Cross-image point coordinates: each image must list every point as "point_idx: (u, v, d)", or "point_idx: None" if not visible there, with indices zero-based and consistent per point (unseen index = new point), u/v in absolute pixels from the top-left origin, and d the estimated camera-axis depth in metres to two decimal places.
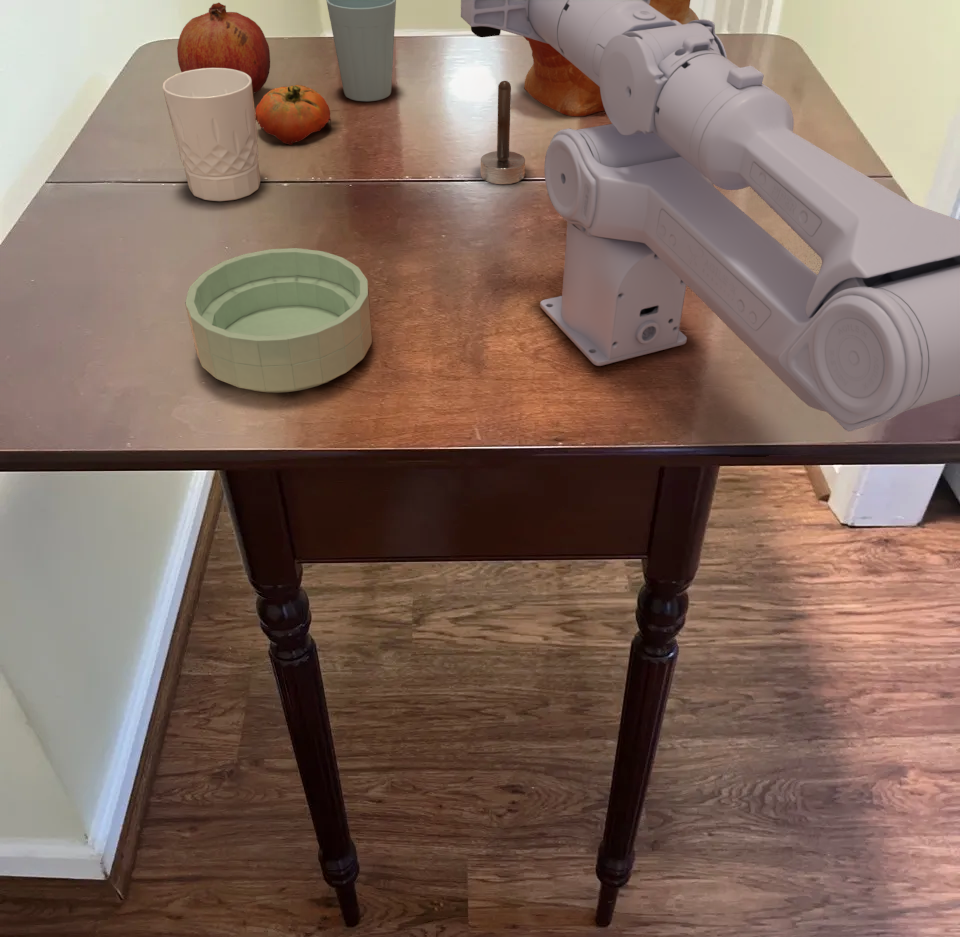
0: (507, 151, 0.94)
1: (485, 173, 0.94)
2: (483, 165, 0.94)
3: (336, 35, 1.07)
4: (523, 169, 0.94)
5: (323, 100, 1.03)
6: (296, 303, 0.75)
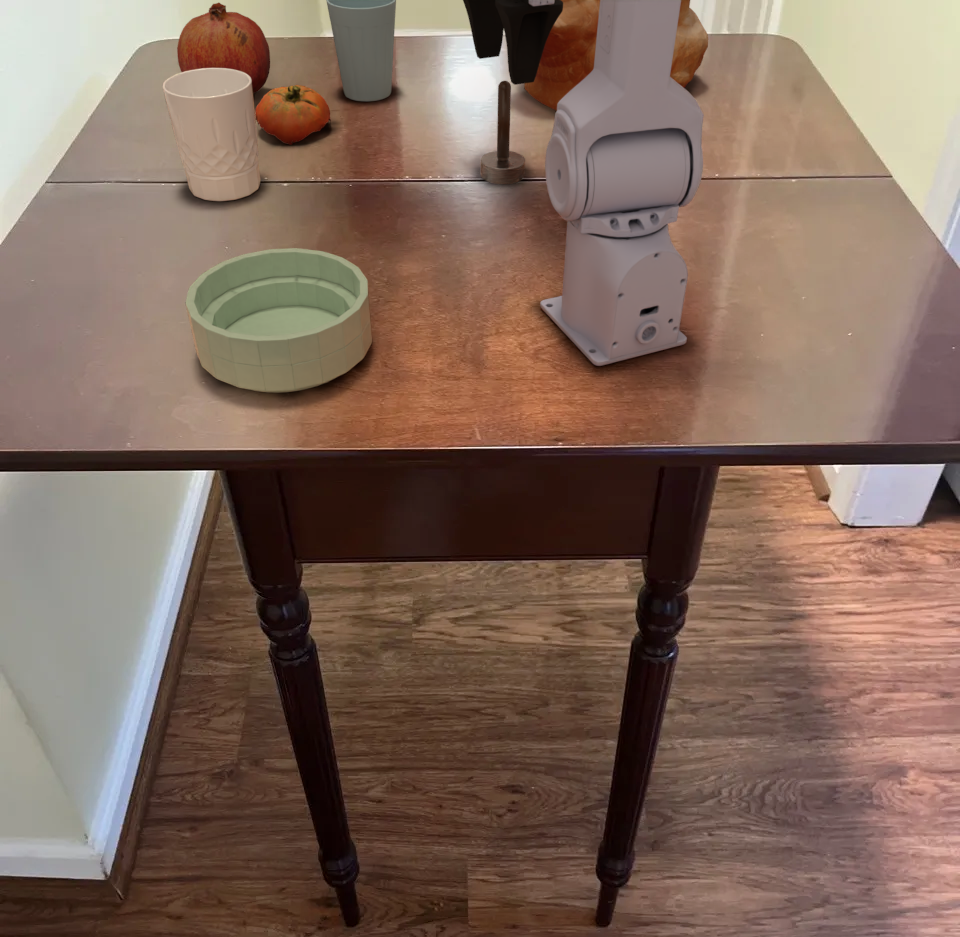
0: (507, 151, 0.94)
1: (485, 173, 0.94)
2: (483, 165, 0.94)
3: (336, 35, 1.07)
4: (523, 169, 0.94)
5: (323, 100, 1.03)
6: (296, 303, 0.75)
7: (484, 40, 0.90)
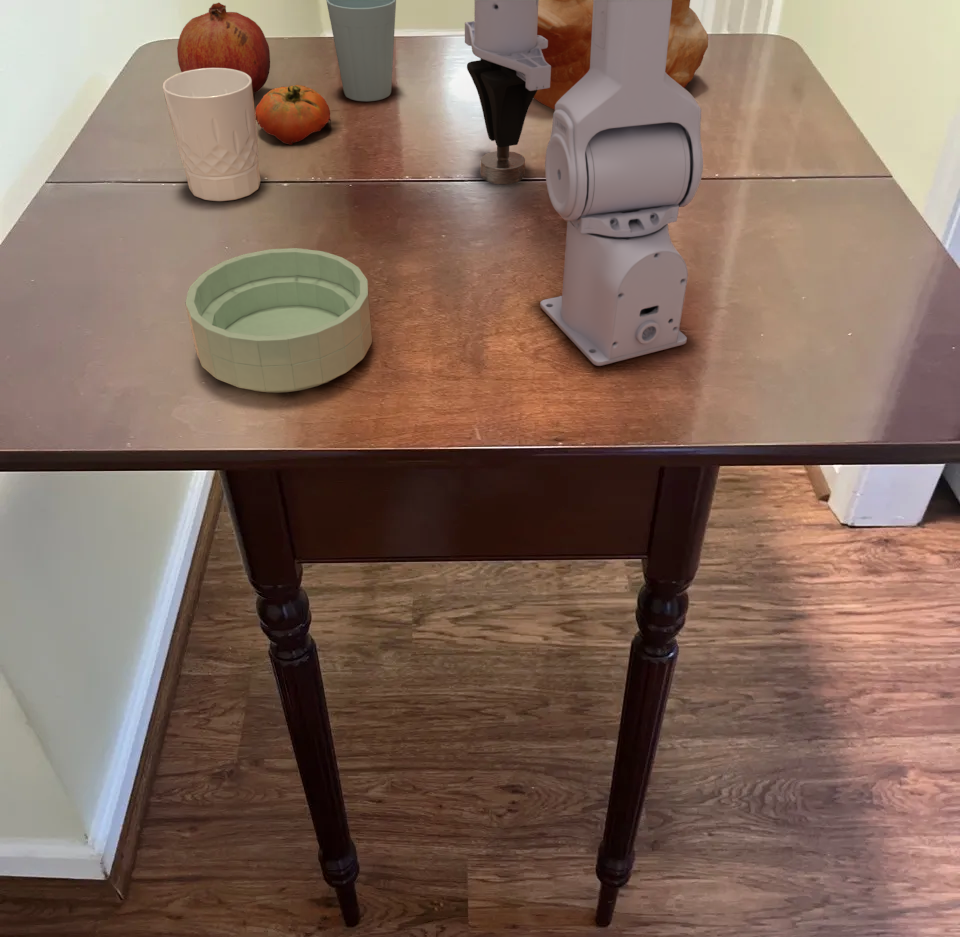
0: (507, 151, 0.94)
1: (485, 173, 0.94)
2: (483, 165, 0.94)
3: (336, 35, 1.07)
4: (523, 169, 0.94)
5: (323, 100, 1.03)
6: (296, 303, 0.75)
7: None
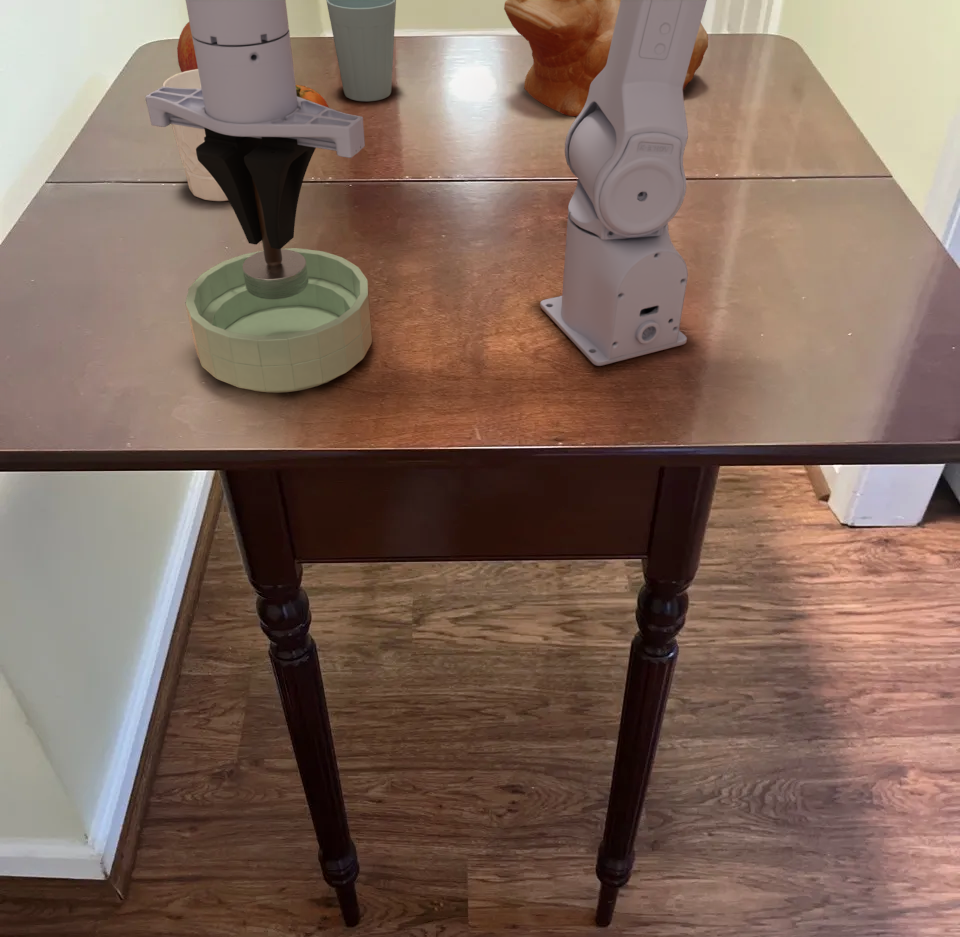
0: (280, 250, 0.67)
1: (267, 290, 0.66)
2: (261, 280, 0.66)
3: (336, 35, 1.07)
4: None
5: (323, 100, 1.03)
6: (296, 303, 0.75)
7: (256, 220, 0.65)
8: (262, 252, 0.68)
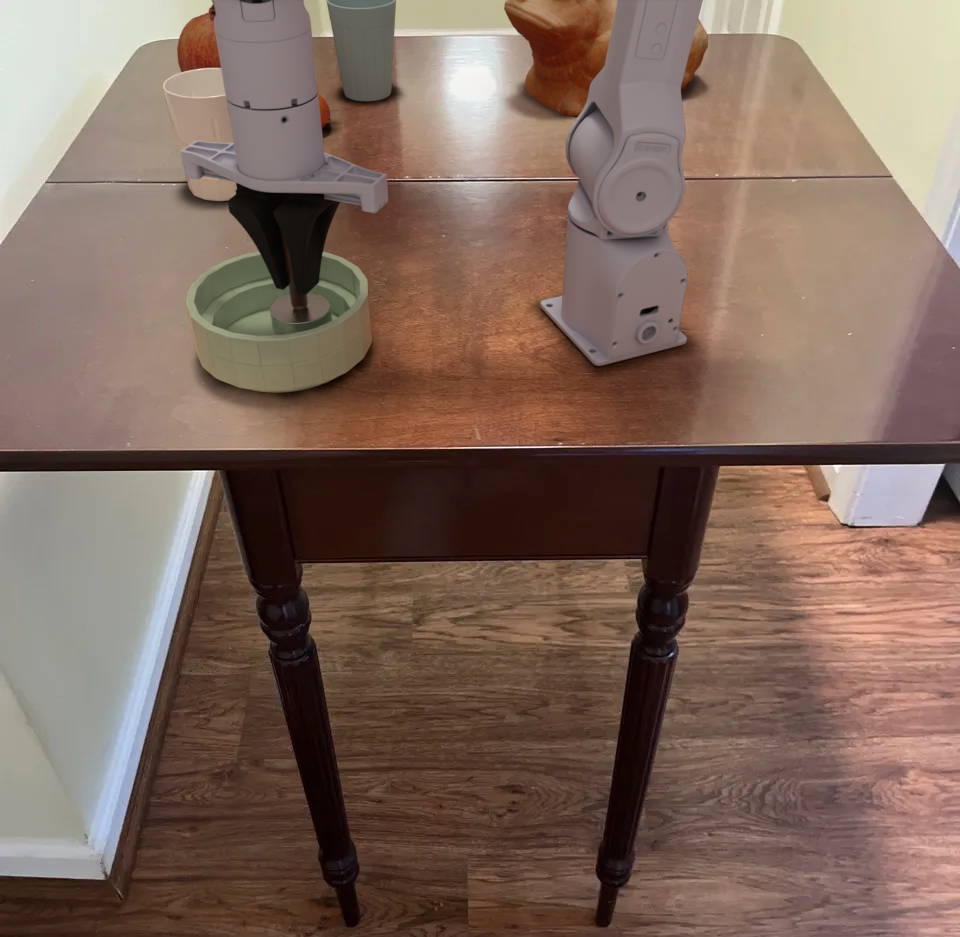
0: (306, 295, 0.70)
1: None
2: (287, 324, 0.69)
3: (336, 35, 1.07)
4: None
5: (323, 100, 1.03)
6: None
7: (283, 266, 0.68)
8: (288, 295, 0.71)
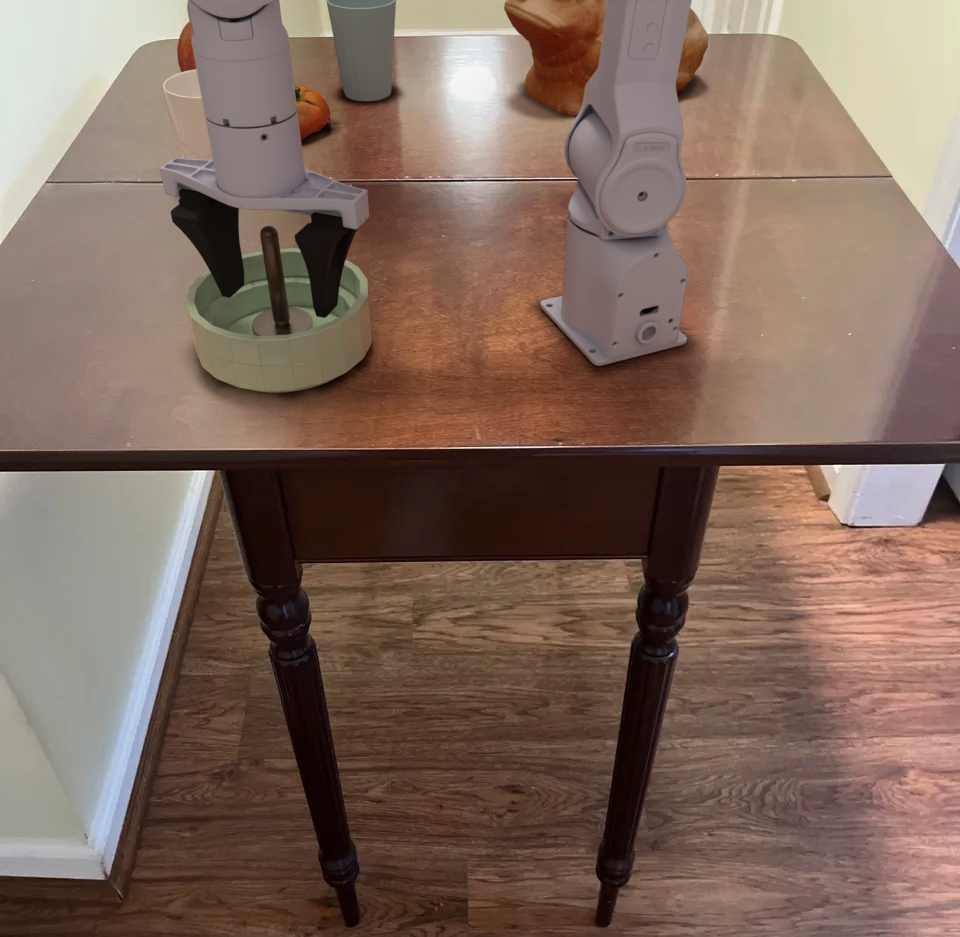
0: (288, 310, 0.70)
1: None
2: None
3: (336, 35, 1.07)
4: None
5: (323, 100, 1.03)
6: (296, 303, 0.75)
7: (229, 275, 0.69)
8: (270, 310, 0.71)
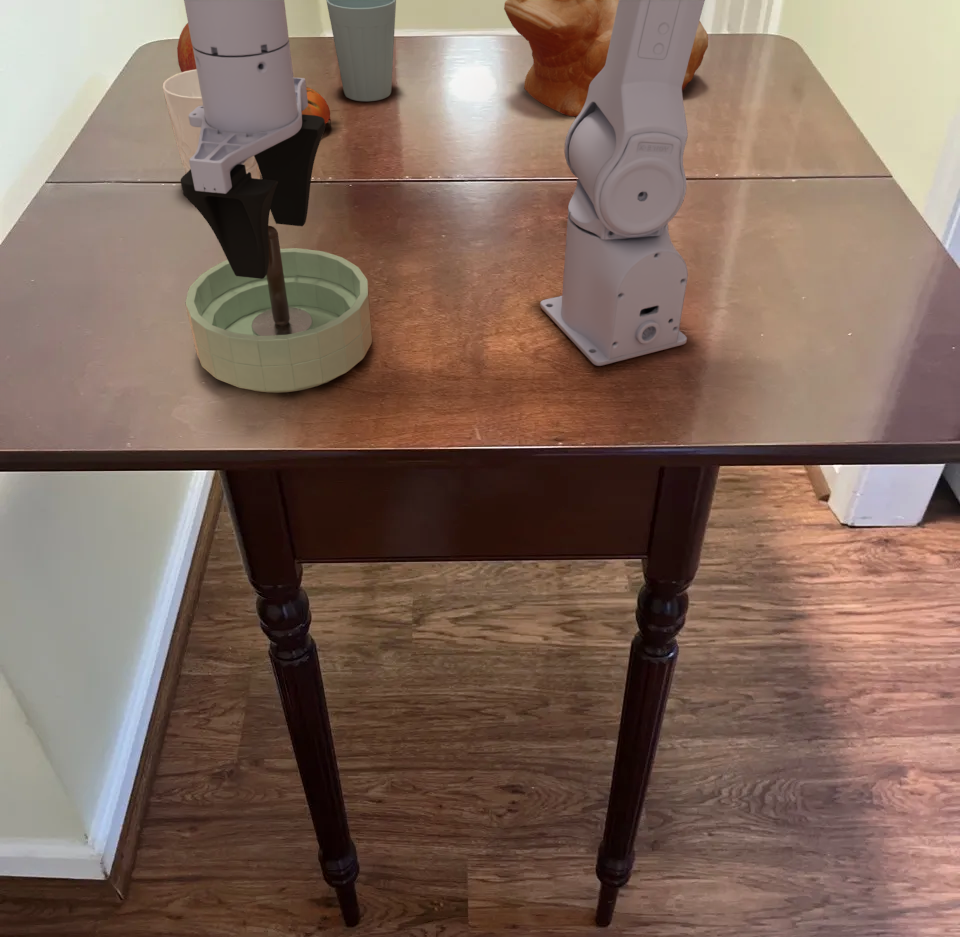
0: (288, 310, 0.70)
1: None
2: None
3: (336, 35, 1.07)
4: None
5: (323, 100, 1.03)
6: (296, 303, 0.75)
7: None
8: (270, 310, 0.71)
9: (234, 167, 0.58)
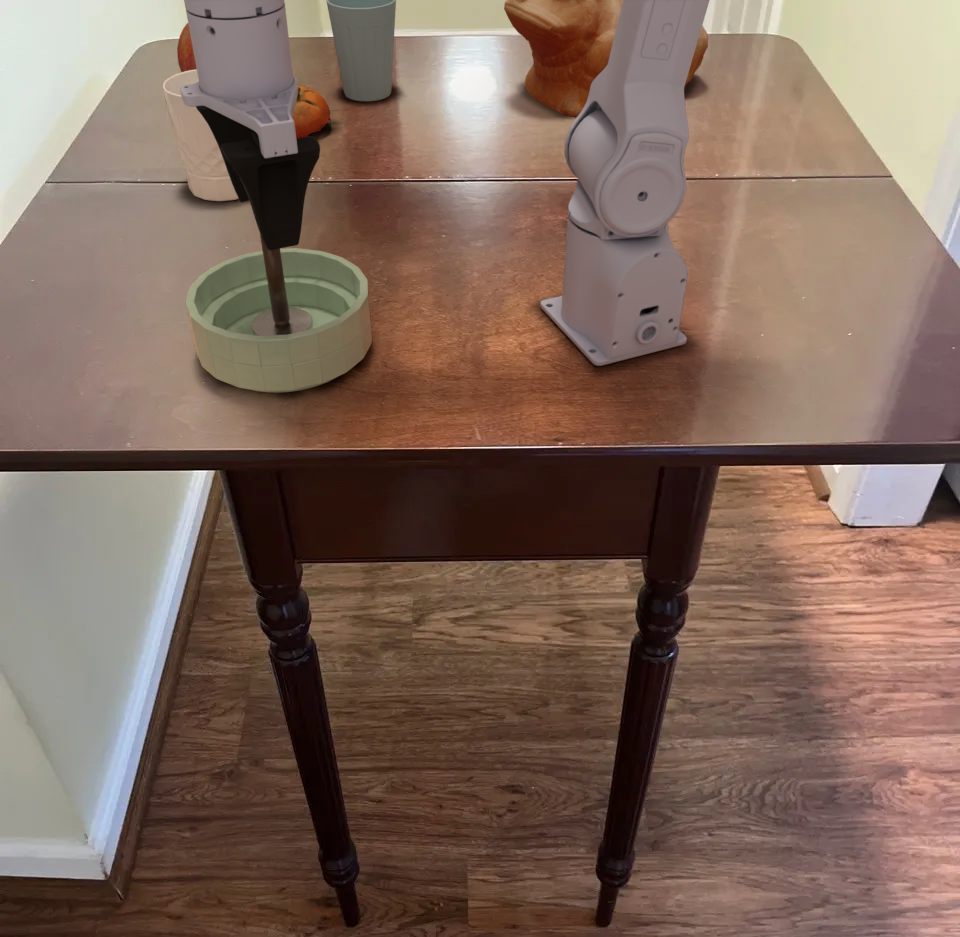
0: (288, 310, 0.70)
1: None
2: None
3: (336, 35, 1.07)
4: None
5: (323, 100, 1.03)
6: (296, 303, 0.75)
7: None
8: (270, 310, 0.71)
9: None
